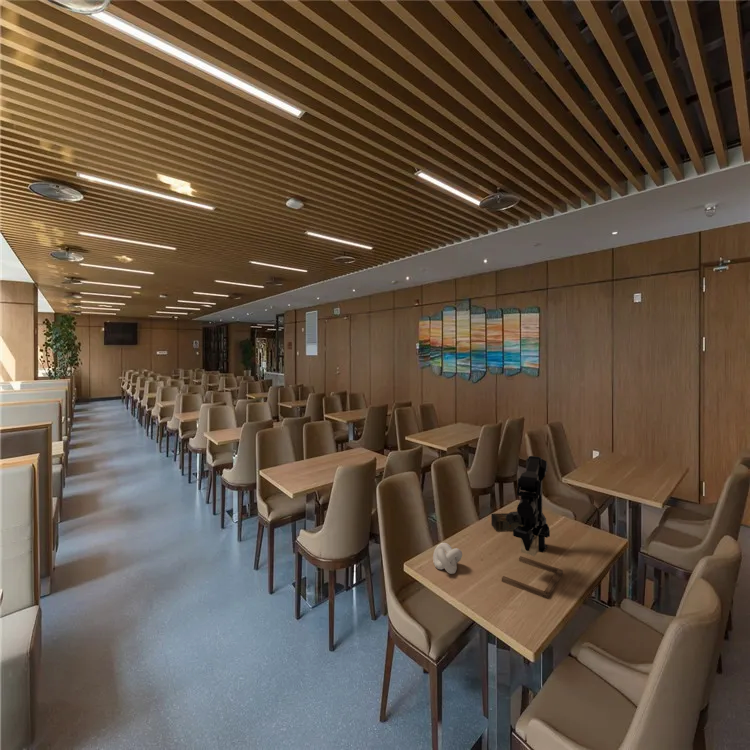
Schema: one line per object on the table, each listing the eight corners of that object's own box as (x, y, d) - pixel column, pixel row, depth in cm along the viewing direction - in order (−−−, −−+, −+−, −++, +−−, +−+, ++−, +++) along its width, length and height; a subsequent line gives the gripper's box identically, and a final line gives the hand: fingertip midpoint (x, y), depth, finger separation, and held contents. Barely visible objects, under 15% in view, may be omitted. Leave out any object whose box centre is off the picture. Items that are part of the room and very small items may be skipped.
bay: (520, 559, 156) (520, 556, 156) (562, 573, 145) (562, 569, 145) (501, 581, 141) (501, 577, 141) (547, 598, 130) (547, 594, 130)
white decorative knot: (425, 568, 151) (425, 547, 151) (442, 557, 159) (442, 536, 159) (449, 579, 143) (448, 557, 143) (465, 567, 151) (465, 545, 151)
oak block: (525, 547, 147) (525, 532, 147) (538, 551, 143) (538, 536, 143) (520, 552, 143) (520, 537, 143) (534, 556, 140) (534, 540, 139)
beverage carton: (534, 530, 182) (534, 517, 182) (495, 532, 182) (495, 519, 181) (527, 523, 190) (527, 511, 190) (490, 525, 190) (490, 512, 189)
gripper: (517, 496, 155) (517, 533, 155) (499, 510, 141) (499, 550, 142) (545, 502, 148) (545, 541, 148) (529, 518, 134) (529, 560, 134)
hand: (529, 547), depth 143 cm, fingers closed on oak block, 5 cm apart
